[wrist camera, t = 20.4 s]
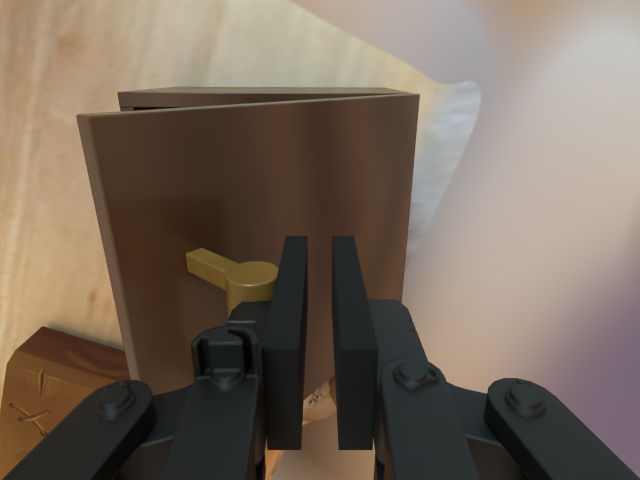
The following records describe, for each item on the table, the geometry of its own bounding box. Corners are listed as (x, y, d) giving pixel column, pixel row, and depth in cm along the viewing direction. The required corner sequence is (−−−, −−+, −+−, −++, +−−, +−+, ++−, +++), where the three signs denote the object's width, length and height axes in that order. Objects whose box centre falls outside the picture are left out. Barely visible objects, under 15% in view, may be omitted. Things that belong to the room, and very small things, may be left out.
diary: (271, 389, 44) (264, 434, 38) (220, 504, 50) (208, 556, 45) (47, 320, 40) (6, 358, 35) (24, 452, 47) (-14, 501, 42)
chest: (194, 257, 38) (154, 315, 29) (174, 87, 32) (117, 92, 23) (376, 258, 38) (394, 316, 29) (386, 87, 32) (412, 93, 23)
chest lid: (155, 500, 16) (228, 588, 14) (74, 114, 11) (169, 128, 8) (390, 317, 29) (453, 344, 26) (407, 93, 23) (490, 96, 20)
